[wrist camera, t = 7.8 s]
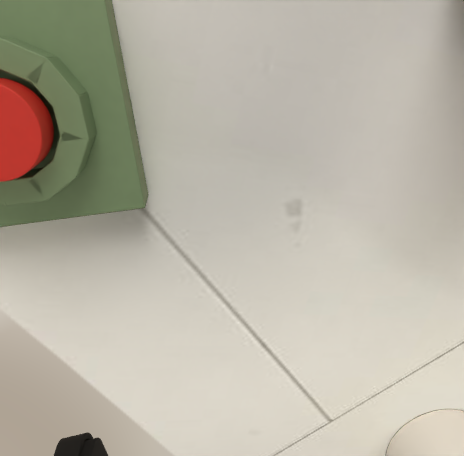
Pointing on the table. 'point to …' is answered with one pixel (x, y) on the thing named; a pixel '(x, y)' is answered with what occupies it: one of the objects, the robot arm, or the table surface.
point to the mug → (430, 435)
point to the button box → (72, 111)
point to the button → (22, 130)
